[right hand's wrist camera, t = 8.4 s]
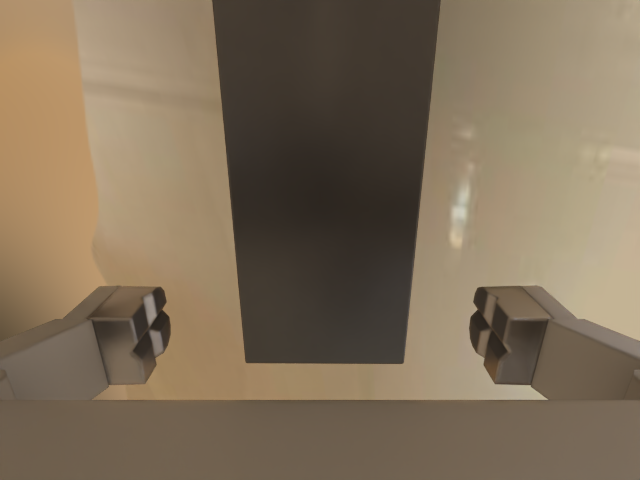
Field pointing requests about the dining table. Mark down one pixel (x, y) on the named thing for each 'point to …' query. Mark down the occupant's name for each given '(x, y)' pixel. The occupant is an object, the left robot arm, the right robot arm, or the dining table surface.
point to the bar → (325, 170)
